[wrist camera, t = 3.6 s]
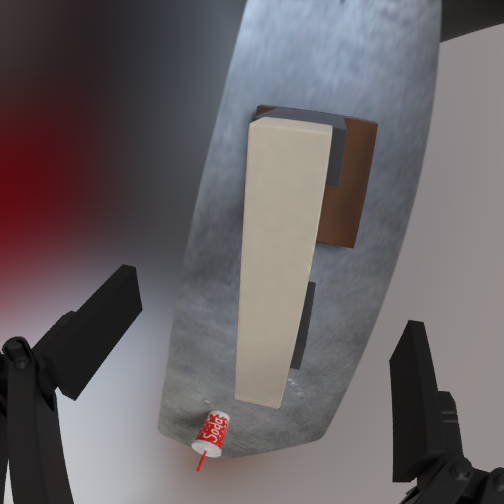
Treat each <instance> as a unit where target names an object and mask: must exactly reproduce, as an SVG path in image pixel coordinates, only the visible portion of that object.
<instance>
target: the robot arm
mask: <svg viewBox="0 0 504 504" xmlns="http://www.w3.org/2000/svg"><path fill="white" fill-rule="evenodd" d="M141 311H142V304H141V298H140V292H139V286H138V280H137V275H136V268H135V267H132V266H128V265H122V266H121V267H120V268H119V269H118V270H117V271H116V272H115V273H114V274H113V275H112V276H111V277H110V278H109V279H108V280H107V281H106V282H105V283H104V284H103V285H102V286H101V287H100V288H99V289H98V290H97V291H96V292H95V293H94V294H93V295H92V296H91V297H90V298H89V299H88V300H87V301H86V302H85V303H84V304H83V306H82V307H80V309H79V310H78V311H77V312H74V311H70V312H68V313H66V314H65V315H63V316H62V317H61V318H60V319H59V320H58V321H57V322H56V324H55V325H53V326H52V328H50V331H48V332H47V333H46V334H45V335H44V336H43V337H42V338H41V339H40V340H39V341H38V343H37V344H36V345H35V346H34V347H33V348H32V349H31V348H30V346H29V344H28V342H27V341H26V339H25V338H23V337H13V338H10V339H9V340H8V341H6V342H5V344H4V345H3V347H2V351H3V353H4V354H1V352H0V504H3V502H4V491H5V481H6V473H7V465H8V458H9V470H10V480H11V488H12V496H13V502H14V504H74V502H73V498H72V494H71V489H70V485H69V480H68V475H67V470H66V465H65V459H64V454H63V447H62V441H61V434H60V426H59V418H58V408H57V397H56V393H55V389H56V388H57V387H59V389H60V391H61V392H62V394H63V395H65V396H67V397H69V398H71V399H73V400H74V401H75V400H76V399H77V398H78V396H79V395H80V393H81V392H82V391H83V389H84V388H85V387H86V385H87V384H88V382H89V381H90V380H91V378H92V377H93V375H94V374H95V372H96V371H97V370H98V368H99V367H100V366H101V364H102V363H103V362H104V360H105V359H106V358H107V356H108V355H109V353H110V352H111V351H112V349H113V348H114V347H115V345H116V344H117V343H118V341H119V340H120V339H121V337H122V336H123V335H124V333H125V332H126V330H127V329H128V328H129V327H130V325H131V324H132V323H133V322H134V320H135V319H136V318H137V316H138V315H139V314H140V312H141ZM389 363H390V376H391V391H392V413H393V482H411V481H412V480H414V479H415V478H416V477H417V485H416V486H415V487H413V488H412V489H411V490H410V491H408V492H407V493H406V494H407V496H406V497H405V498H404V499H403V500H402V501H401V503H400V504H504V468H501V467H499V468H496V469H494V470H493V471H492V472H490V473H489V472H486V471H482V470H479V469H475V468H473V467H472V465H471V462H470V461H469V460H468V459H467V458H465V457H464V455H463V450H462V442H461V435H460V428H459V424H458V416H457V410H456V404H455V401H454V399H453V397H452V396H451V394H450V392H446V391H438V388H437V383H436V377H435V372H434V367H433V362H432V357H431V352H430V348H429V343H428V339H427V335H426V330H425V326H424V322H419V321H412V320H409V321H408V323H407V325H406V327H405V330H404V332H403V334H402V336H401V338H400V341H399V342H398V344H397V347H396V349H395V350H394V353H393V354H392V357H391V358H390V360H389Z"/></svg>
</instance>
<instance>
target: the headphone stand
mask: <svg viewBox="0 0 504 504" xmlns="http://www.w3.org/2000/svg"><path fill="white" fill-rule="evenodd" d="M275 108H278V107H277V106H267V105H260V106H257V116H258V115H260V114H263V113H265V112H268V111H270V110H273V109H275ZM283 108H286V107H283ZM292 109H295V108H292ZM300 110H302V109H300ZM307 111H310V110H307ZM315 112H317V111H315ZM321 113H324V112H321ZM328 114H330V113H328ZM334 115H336V114H334ZM340 116H342V115H340ZM344 120H345V124H346V127H347V138H346V145H345V152H344V158H343V165H342V171H341V177H340V183H339V186H334V185H328V184H325V188H324V195H323V201H322V208H321V214H320V220H319V226H318V231H317V237H316V242H321V243H326V244H332V245H337V246H343V247H348V248H354V244H355V240H356V236H357V232H358V227H359V223H360V218H361V214H362V209H363V204H364V199H365V194H366V189H367V184H368V179H369V174H370V168H371V163H372V157H373V151H374V145H375V139H376V133H377V126H378V124H377V123H376V122H374V121H369V120H364V119H359V118H354V117H348V116H344Z"/></svg>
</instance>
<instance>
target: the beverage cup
mask: <svg viewBox="0 0 504 504" xmlns="http://www.w3.org/2000/svg"><path fill="white" fill-rule="evenodd" d="M229 421H230V418H229V416H228V415H227V414H225V413H223V412H221V411H217V410H212V411H210V412H209V414H208V416H207V418H206V420H205V422H204V424H203V426H202V428H201V430H200V432H199V434H198V436H197V438H196V439H195V440H194V441H193V443H192V445H191V446H192V448H193V449H194V450H195V451H197V452H199V453H201V454H203V456H202V458H201V461H200V463H199V466H198V468H197V471H199V470H200V467H201V465H202V462H203V460H204V457H205V455H206V456H209V457H219V456H221V452H222V451H221V448H222V445H223V442H224V438H225V435H226V431H227V428H228V424H229Z"/></svg>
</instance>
